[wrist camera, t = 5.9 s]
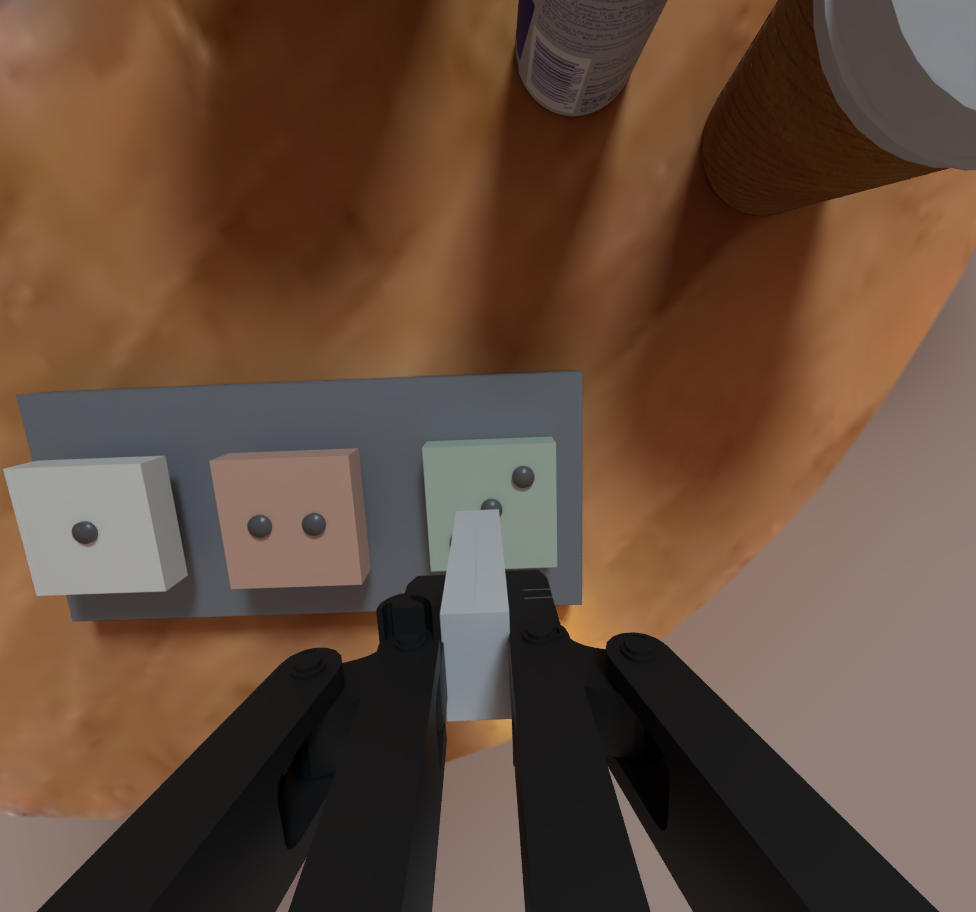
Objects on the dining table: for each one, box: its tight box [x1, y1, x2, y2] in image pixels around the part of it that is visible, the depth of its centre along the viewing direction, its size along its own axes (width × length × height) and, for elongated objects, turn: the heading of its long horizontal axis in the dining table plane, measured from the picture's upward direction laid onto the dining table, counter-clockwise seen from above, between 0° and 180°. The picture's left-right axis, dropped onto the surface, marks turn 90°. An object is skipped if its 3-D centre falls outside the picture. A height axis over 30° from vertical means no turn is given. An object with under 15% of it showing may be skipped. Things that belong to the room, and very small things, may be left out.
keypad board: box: [16, 370, 582, 621], centre depth 25 cm, size 27×12×2 cm, turn 92°
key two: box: [209, 448, 371, 589], centre depth 22 cm, size 6×6×4 cm
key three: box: [422, 436, 557, 571], centre depth 23 cm, size 6×6×4 cm
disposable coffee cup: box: [702, 0, 976, 216], centre depth 16 cm, size 10×10×12 cm
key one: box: [3, 456, 188, 596], centre depth 23 cm, size 6×6×4 cm
